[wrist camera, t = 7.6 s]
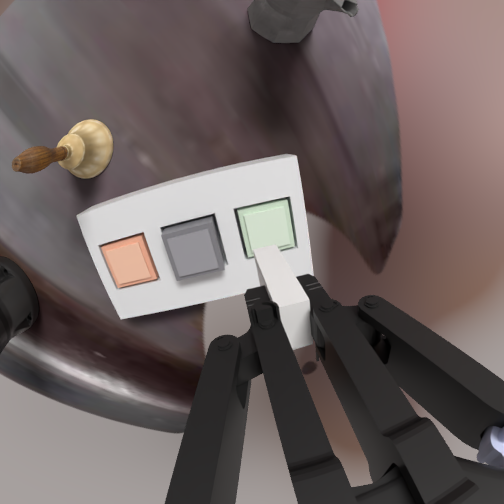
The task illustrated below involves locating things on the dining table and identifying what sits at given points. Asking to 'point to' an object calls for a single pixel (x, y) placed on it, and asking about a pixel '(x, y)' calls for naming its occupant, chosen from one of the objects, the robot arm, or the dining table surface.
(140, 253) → the terracotta key
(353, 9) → the coffeepot
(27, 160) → the hand bell
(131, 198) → the white button panel
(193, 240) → the charcoal key
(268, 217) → the sage key
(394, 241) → the dining table surface
